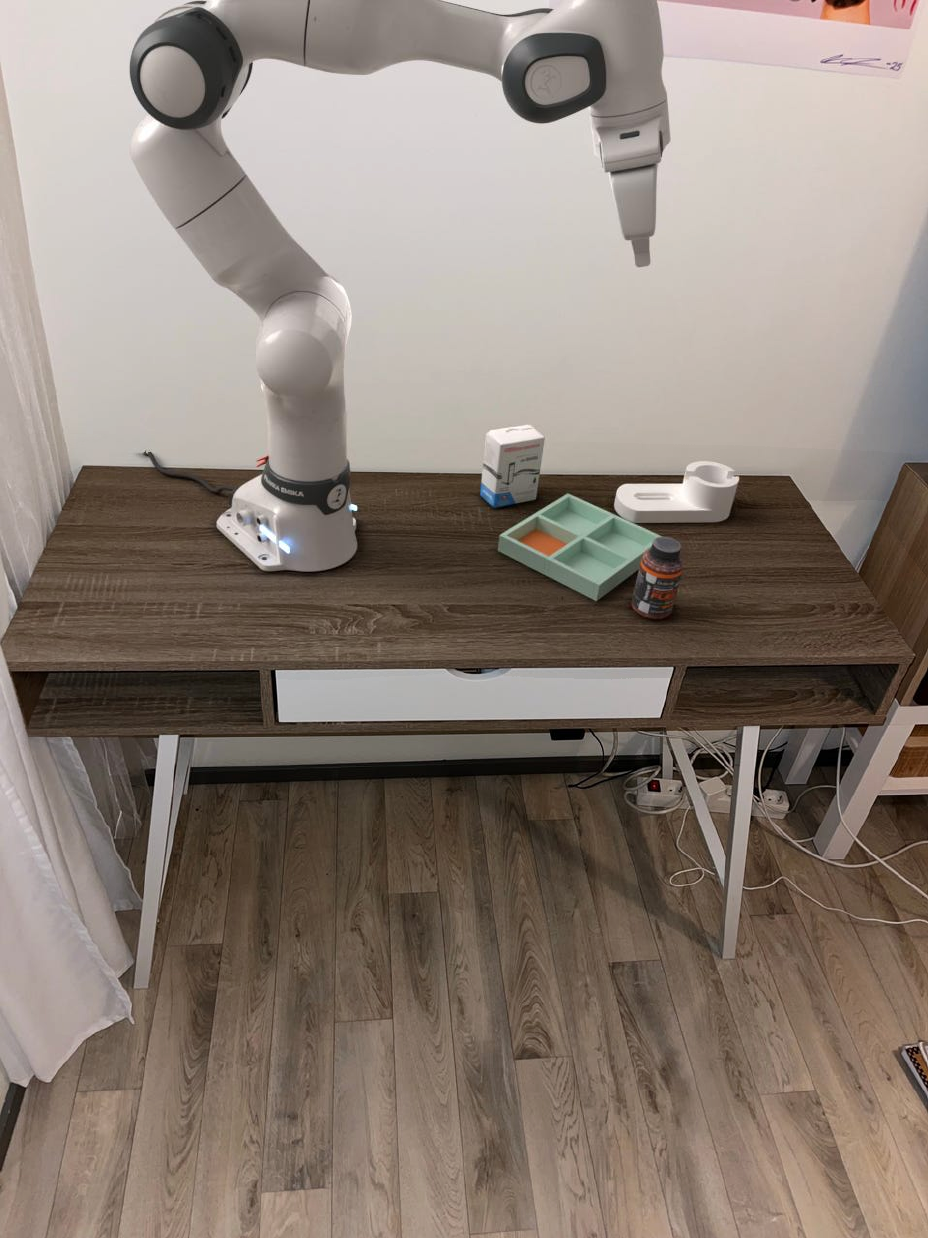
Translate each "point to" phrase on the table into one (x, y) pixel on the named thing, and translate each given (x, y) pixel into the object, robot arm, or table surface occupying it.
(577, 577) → the organiser
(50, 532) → the table surface
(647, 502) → the bracket
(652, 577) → the supplement bottle
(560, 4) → the robot arm
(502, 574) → the table surface
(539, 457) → the ink box
